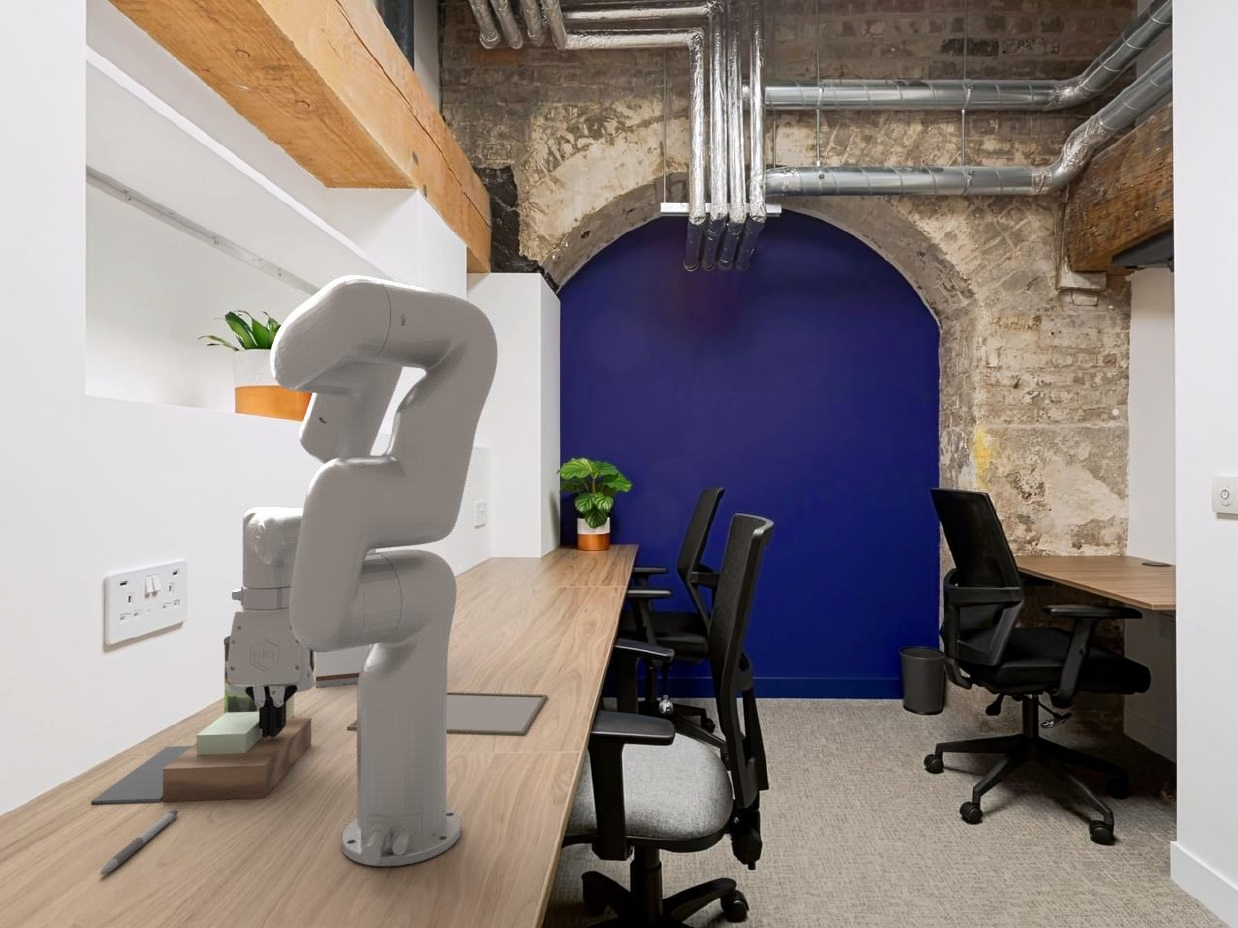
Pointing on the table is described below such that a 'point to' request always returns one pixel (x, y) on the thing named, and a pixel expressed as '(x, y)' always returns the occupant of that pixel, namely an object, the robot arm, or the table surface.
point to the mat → (142, 780)
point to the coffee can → (242, 700)
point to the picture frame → (489, 713)
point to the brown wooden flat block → (237, 767)
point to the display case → (340, 664)
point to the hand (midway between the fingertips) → (272, 733)
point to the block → (230, 734)
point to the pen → (139, 841)
